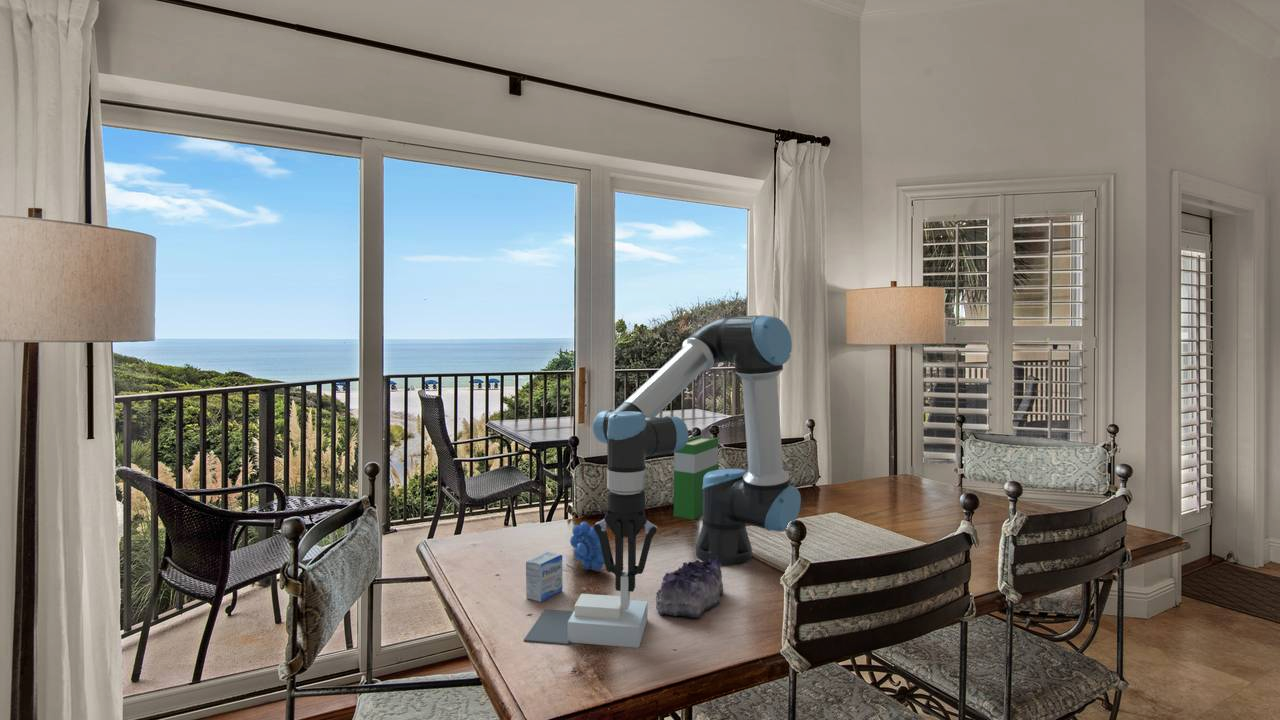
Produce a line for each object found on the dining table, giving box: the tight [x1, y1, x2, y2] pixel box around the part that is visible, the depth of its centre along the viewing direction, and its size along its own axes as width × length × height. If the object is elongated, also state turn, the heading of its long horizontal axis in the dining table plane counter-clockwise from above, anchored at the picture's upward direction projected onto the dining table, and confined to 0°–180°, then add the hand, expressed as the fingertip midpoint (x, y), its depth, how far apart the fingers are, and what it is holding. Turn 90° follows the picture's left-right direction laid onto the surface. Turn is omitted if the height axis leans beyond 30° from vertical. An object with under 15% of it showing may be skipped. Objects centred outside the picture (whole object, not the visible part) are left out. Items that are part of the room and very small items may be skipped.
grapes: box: [569, 521, 605, 572], centre depth 163 cm, size 12×7×12 cm, turn 56°
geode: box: [655, 557, 725, 619], centre depth 144 cm, size 20×12×10 cm, turn 148°
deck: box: [568, 599, 649, 649], centre depth 130 cm, size 14×12×4 cm
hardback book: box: [673, 435, 719, 521], centre depth 216 cm, size 18×7×24 cm, turn 148°
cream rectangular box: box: [573, 593, 623, 619], centre depth 130 cm, size 9×6×2 cm, turn 82°
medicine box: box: [525, 551, 564, 603], centre depth 148 cm, size 8×4×9 cm, turn 148°
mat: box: [523, 608, 574, 646], centre depth 132 cm, size 9×14×1 cm, turn 172°
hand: (625, 606), depth 130 cm, fingers closed
